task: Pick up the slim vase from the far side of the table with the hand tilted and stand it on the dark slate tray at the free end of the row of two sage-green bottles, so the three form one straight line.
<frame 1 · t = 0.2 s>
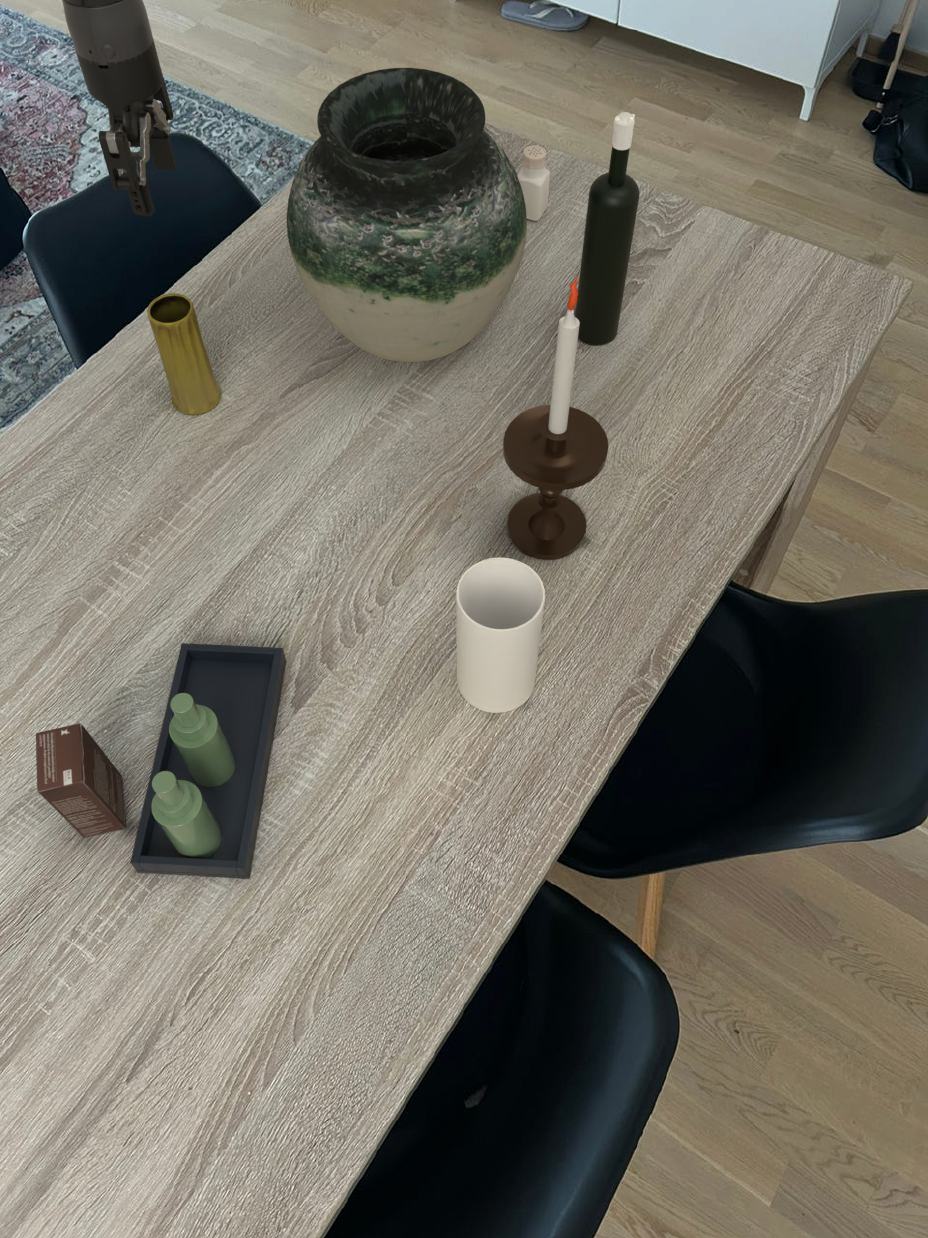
hand: (156, 190, 114), 24 cm above the table, tool pointing down, fingers open, 8 cm apart
vase 2: (413, 329, 137), on the table
candlestick: (546, 529, 120), on the table
wine bottle: (595, 331, 137), on the table
box: (102, 808, 101), on the table
pepper shaker: (530, 213, 150), on the table
vase: (197, 398, 131), on the table
bottles: (190, 773, 95), in the tray, point 8 cm above the table
cup: (495, 679, 109), on the table
tray: (216, 760, 104), on the table
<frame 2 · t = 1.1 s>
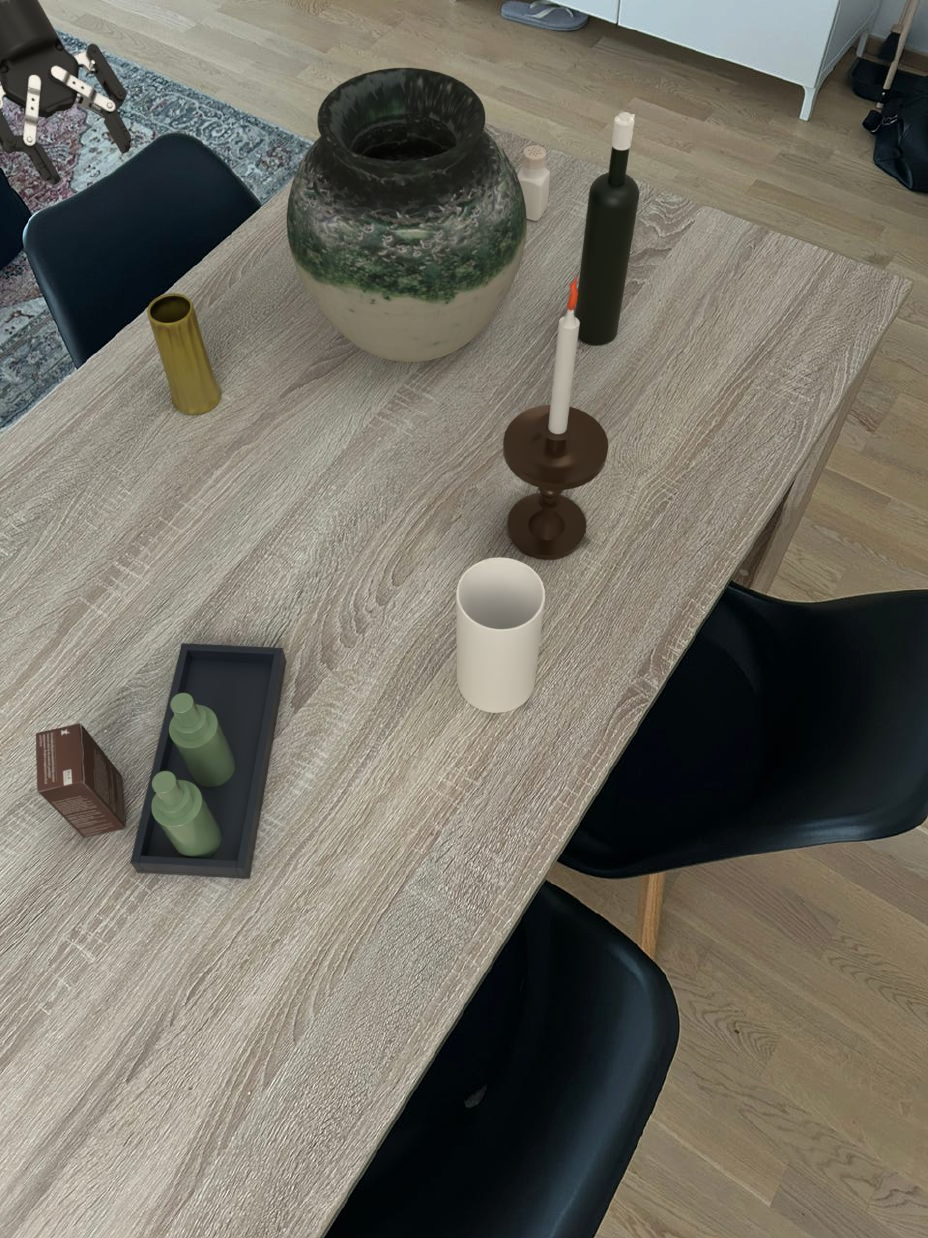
hand: (92, 166, 112), 27 cm above the table, tool tilted 45°, fingers open, 8 cm apart
nothing on the table moved.
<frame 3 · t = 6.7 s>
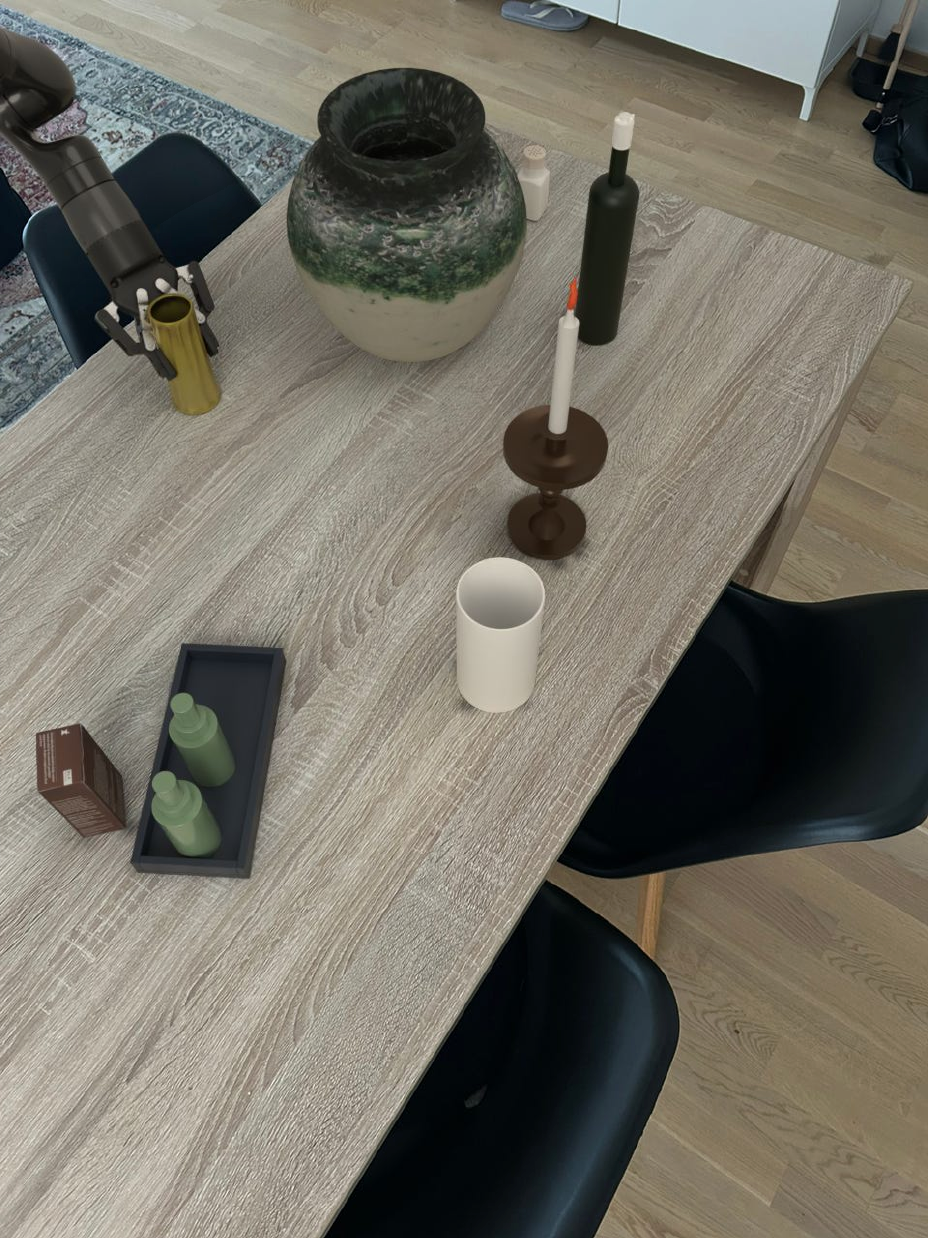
hand: (193, 366, 124), 7 cm above the table, tool tilted 45°, fingers closed on vase, 5 cm apart
vase: (197, 398, 131), on the table, touching gripper
everything else where it was.
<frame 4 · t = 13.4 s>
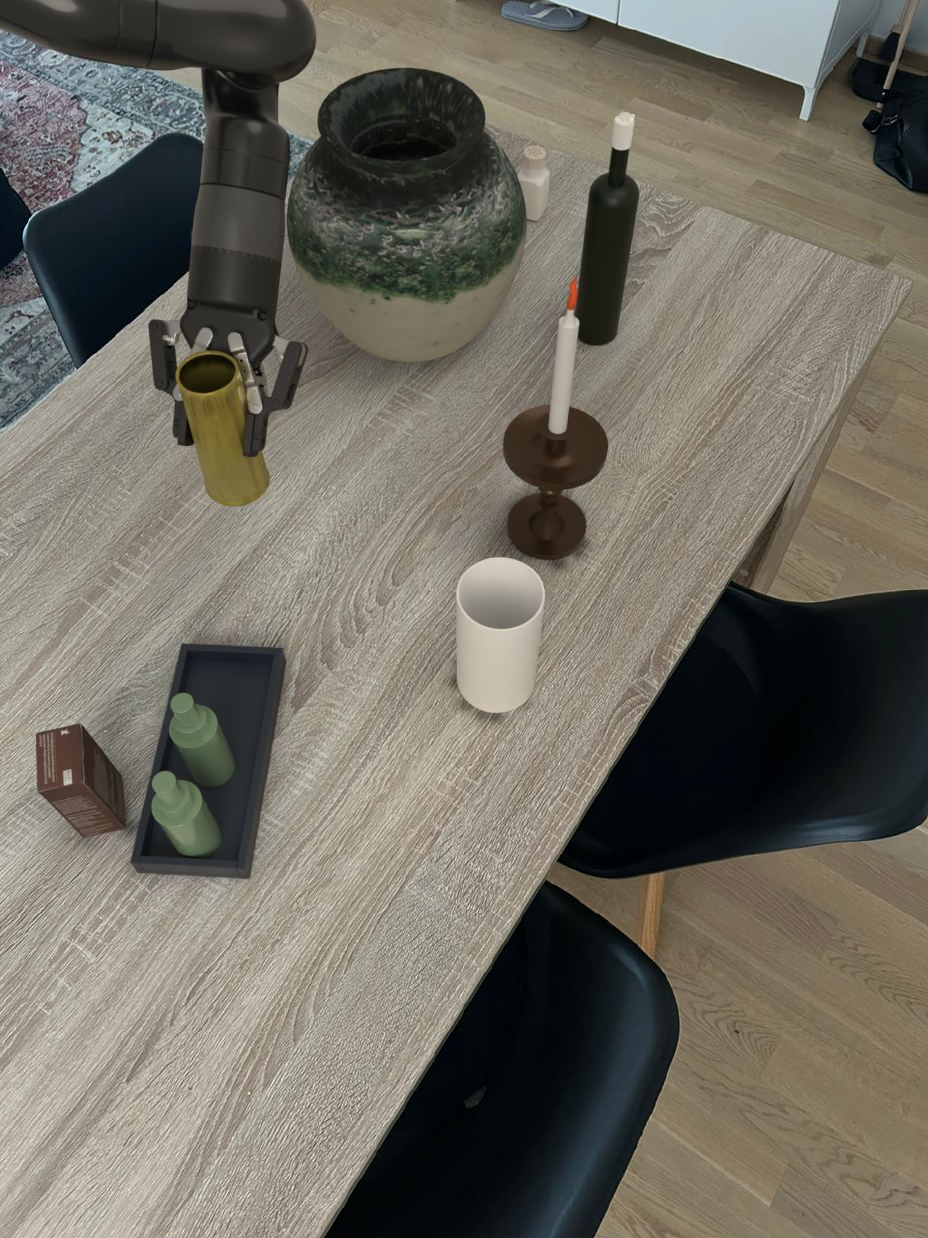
hand: (217, 449, 92), 26 cm above the table, tool tilted 45°, fingers closed on vase, 5 cm apart
vase: (238, 483, 98), point 19 cm above the table, touching gripper
everything else where it was.
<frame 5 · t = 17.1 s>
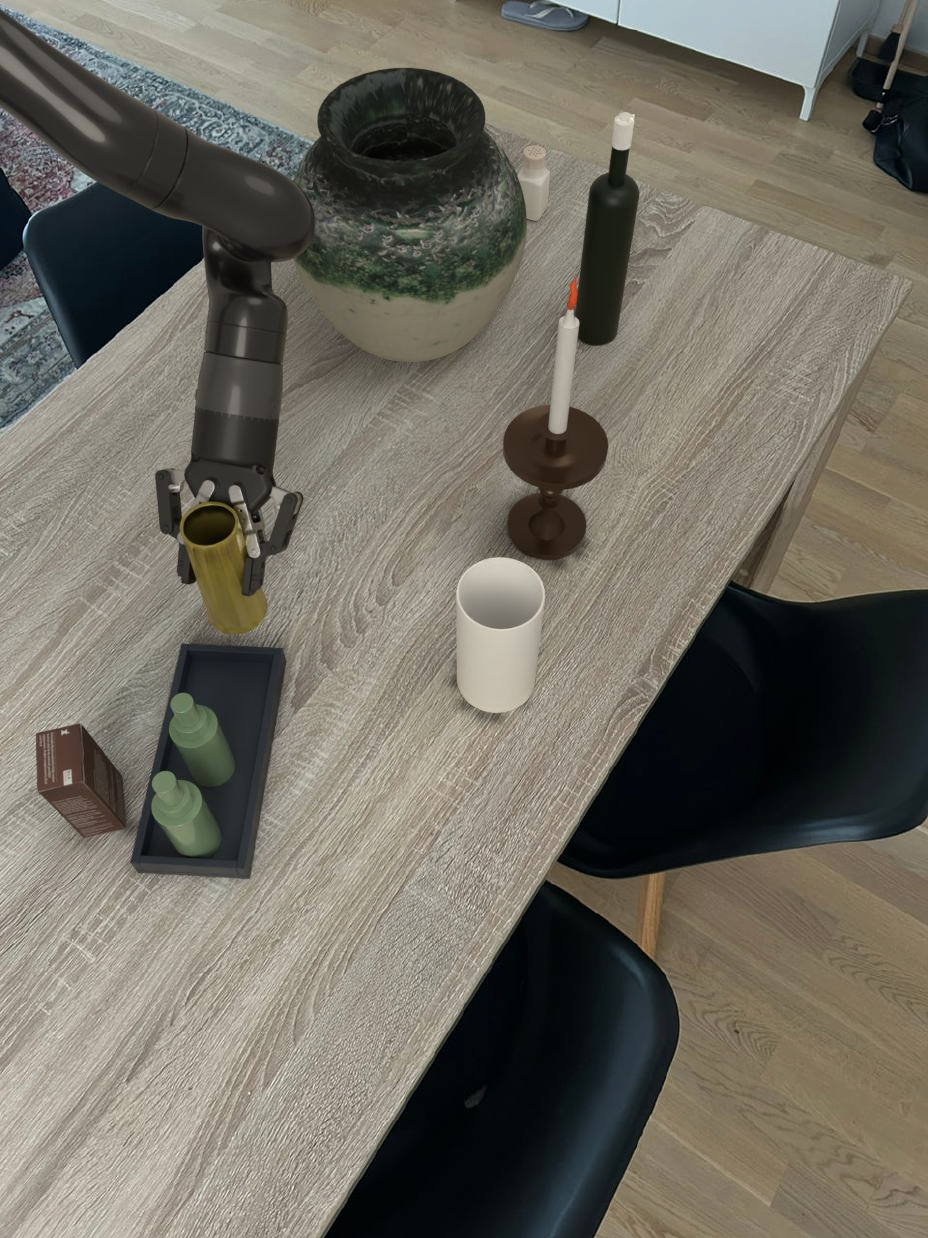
hand: (218, 587, 98), 14 cm above the table, tool tilted 45°, fingers closed on vase, 5 cm apart
vase: (238, 610, 105), point 7 cm above the table, touching gripper
everything else where it was.
when the fingers open (7 cm above the table, at t = 20.2 s): vase stays where it is, resting on tray.
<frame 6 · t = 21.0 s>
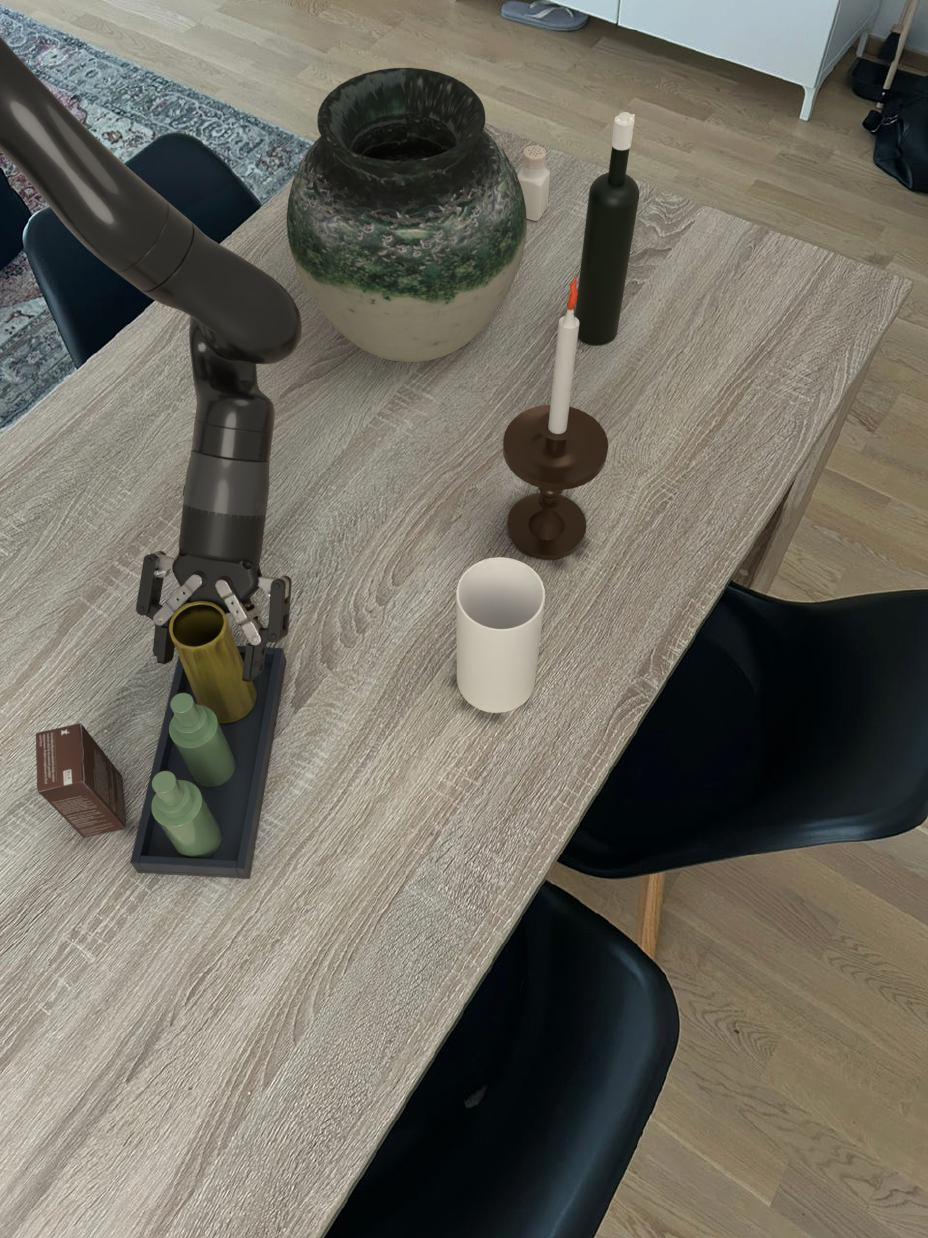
hand: (206, 670, 99), 9 cm above the table, tool tilted 45°, fingers open, 8 cm apart
vase: (227, 698, 107), point 1 cm above the table, touching tray
everything else where it was.
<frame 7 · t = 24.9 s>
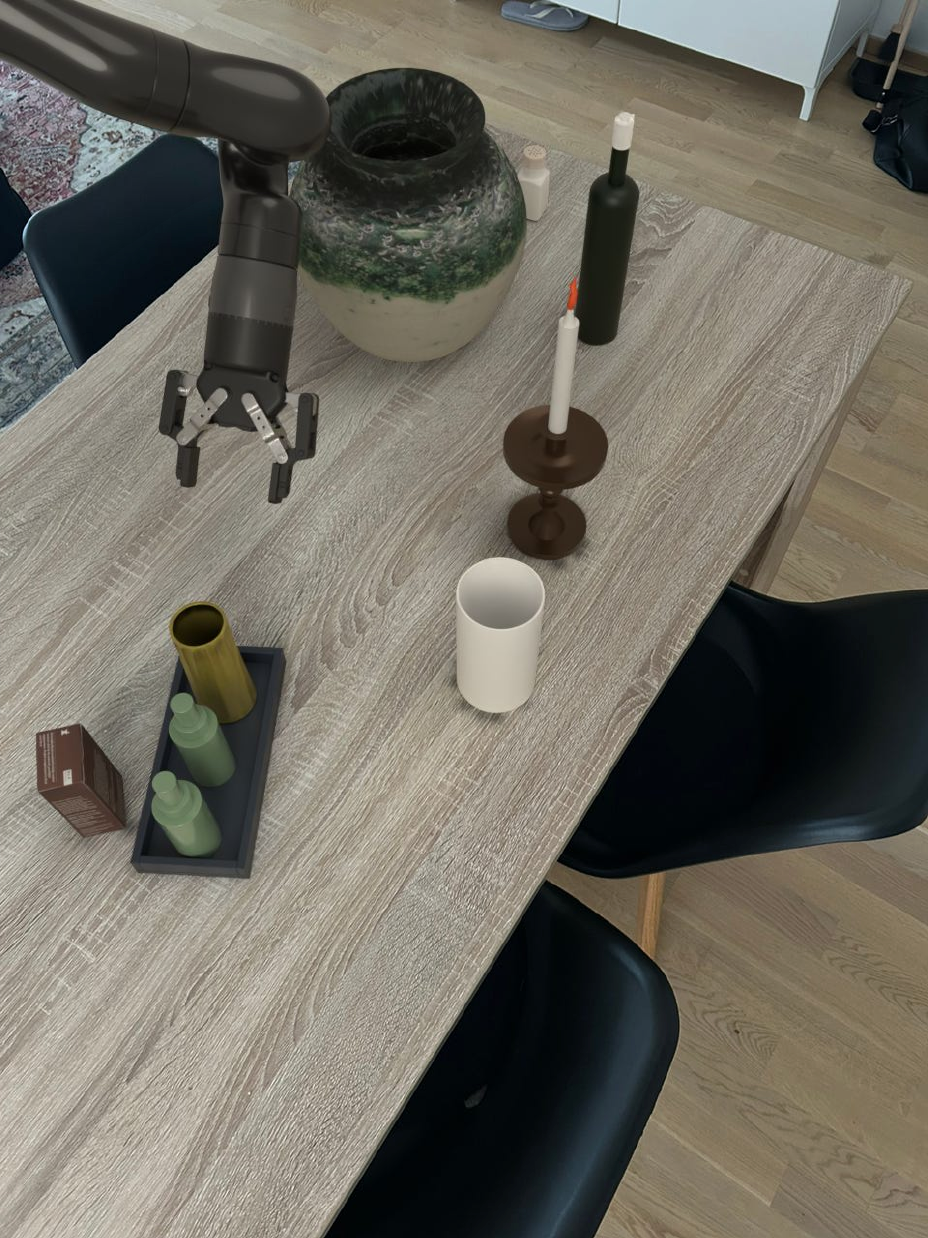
hand: (230, 494, 97), 20 cm above the table, tool tilted 45°, fingers open, 8 cm apart
nothing on the table moved.
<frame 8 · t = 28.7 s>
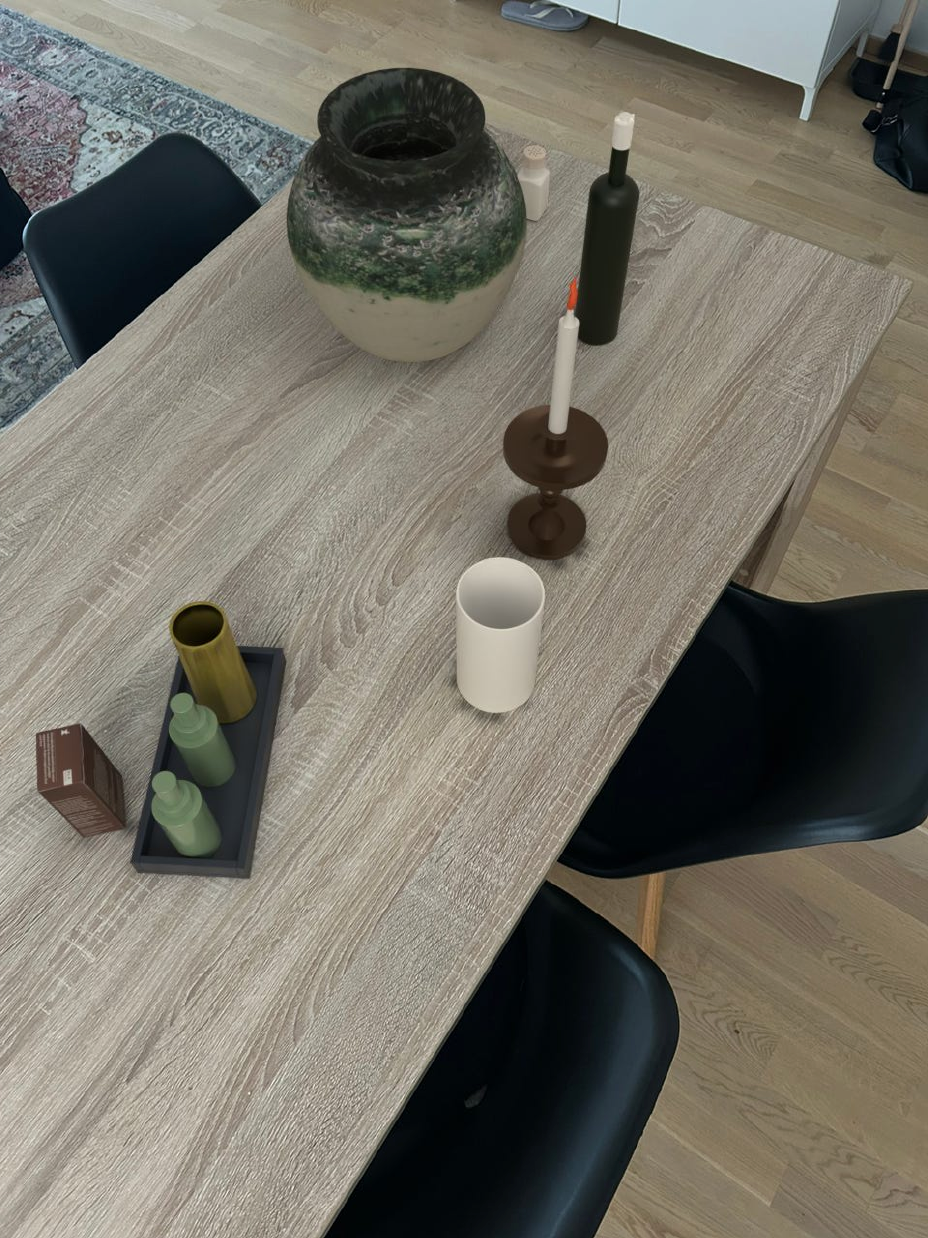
nothing on the table moved.
at the end: vase 0.2 cm from the target spot in the tray, point 0.6 cm above the tray's base; vase tilted 0°; the gripper is holding nothing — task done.
